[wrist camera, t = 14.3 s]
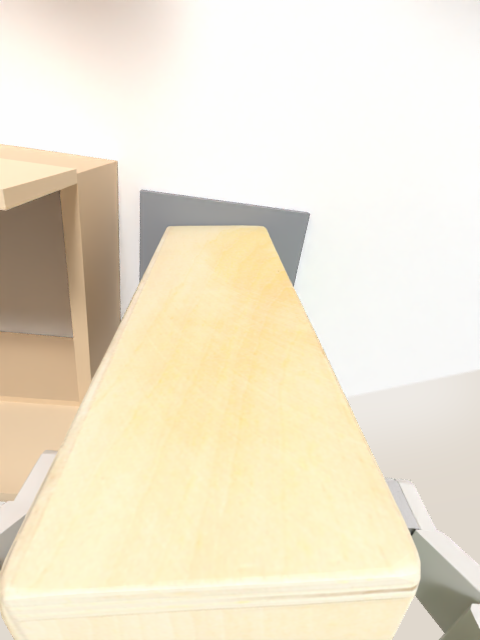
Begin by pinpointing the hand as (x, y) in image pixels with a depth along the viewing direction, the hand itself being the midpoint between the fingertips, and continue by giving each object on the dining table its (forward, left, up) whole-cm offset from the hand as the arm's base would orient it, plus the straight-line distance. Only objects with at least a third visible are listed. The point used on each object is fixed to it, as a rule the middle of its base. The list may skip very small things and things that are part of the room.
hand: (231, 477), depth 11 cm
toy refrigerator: (0, 0, -17) cm, 17 cm away
